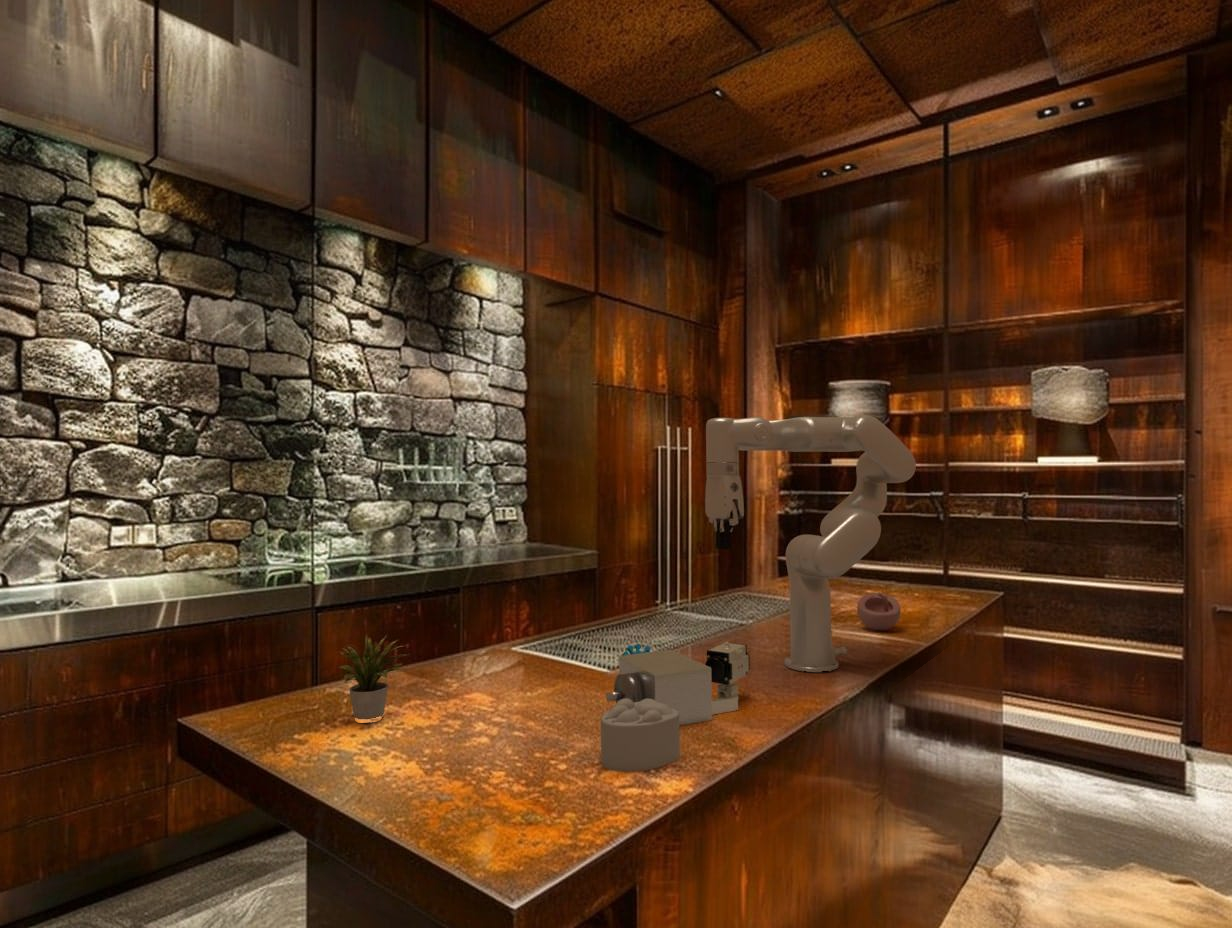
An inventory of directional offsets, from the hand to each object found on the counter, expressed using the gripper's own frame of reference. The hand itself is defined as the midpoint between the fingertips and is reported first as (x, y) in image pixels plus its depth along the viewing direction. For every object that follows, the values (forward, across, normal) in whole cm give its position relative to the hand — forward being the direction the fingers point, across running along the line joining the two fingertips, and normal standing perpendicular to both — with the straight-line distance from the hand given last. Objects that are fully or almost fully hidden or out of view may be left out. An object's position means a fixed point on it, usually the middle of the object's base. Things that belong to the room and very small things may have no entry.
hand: (723, 548), depth 165 cm
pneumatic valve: (+29, -18, +10) cm, 36 cm away
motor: (+29, -17, +26) cm, 43 cm away
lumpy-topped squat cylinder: (+30, -35, +40) cm, 61 cm away
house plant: (+30, +3, +79) cm, 84 cm away
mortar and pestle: (+29, +18, -66) cm, 75 cm away
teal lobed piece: (+30, +4, +19) cm, 35 cm away
